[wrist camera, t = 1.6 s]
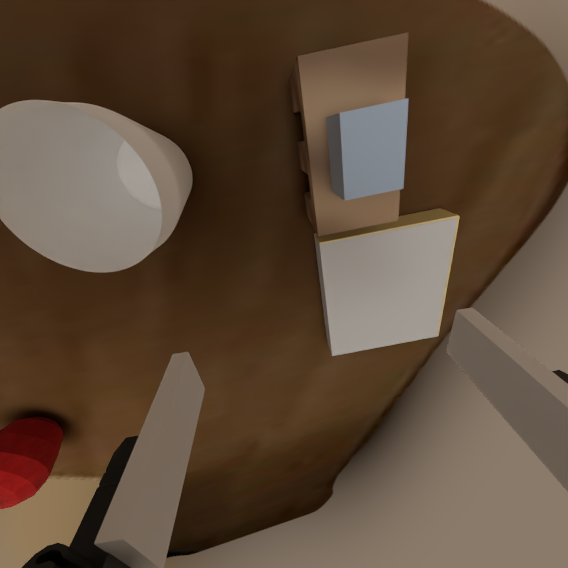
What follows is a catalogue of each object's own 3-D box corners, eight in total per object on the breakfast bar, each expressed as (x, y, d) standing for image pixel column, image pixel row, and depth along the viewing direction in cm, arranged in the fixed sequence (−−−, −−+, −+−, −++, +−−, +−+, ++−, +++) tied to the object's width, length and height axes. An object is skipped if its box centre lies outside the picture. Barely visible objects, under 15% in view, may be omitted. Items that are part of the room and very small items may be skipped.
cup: (119, 90, 21) (-24, 41, 10) (221, 156, 24) (191, 170, 13) (92, 189, 24) (-35, 228, 14) (184, 236, 27) (137, 297, 17)
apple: (72, 404, 39) (12, 490, 29) (84, 440, 43) (35, 524, 34) (-3, 401, 37) (-93, 491, 28) (17, 438, 42) (-54, 526, 32)
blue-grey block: (326, 117, 18) (339, 112, 15) (383, 105, 18) (408, 98, 14) (332, 191, 20) (344, 200, 17) (381, 181, 20) (403, 188, 17)
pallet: (288, 76, 21) (297, 56, 16) (371, 58, 21) (408, 32, 16) (307, 217, 27) (318, 236, 22) (371, 204, 27) (398, 220, 22)
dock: (313, 233, 28) (319, 242, 25) (441, 207, 28) (459, 215, 25) (327, 340, 36) (332, 356, 34) (425, 321, 36) (438, 336, 33)
